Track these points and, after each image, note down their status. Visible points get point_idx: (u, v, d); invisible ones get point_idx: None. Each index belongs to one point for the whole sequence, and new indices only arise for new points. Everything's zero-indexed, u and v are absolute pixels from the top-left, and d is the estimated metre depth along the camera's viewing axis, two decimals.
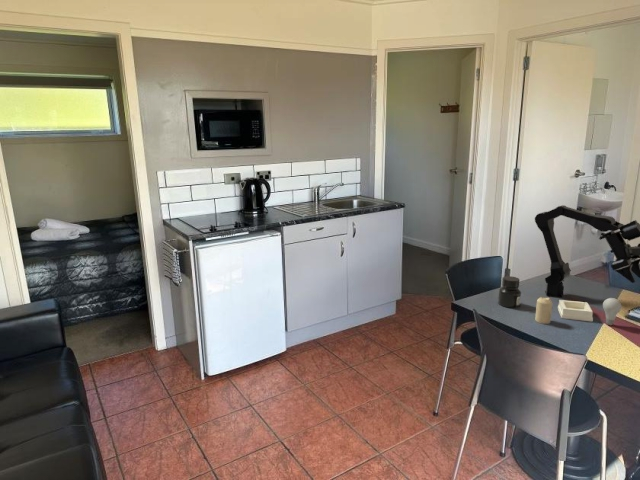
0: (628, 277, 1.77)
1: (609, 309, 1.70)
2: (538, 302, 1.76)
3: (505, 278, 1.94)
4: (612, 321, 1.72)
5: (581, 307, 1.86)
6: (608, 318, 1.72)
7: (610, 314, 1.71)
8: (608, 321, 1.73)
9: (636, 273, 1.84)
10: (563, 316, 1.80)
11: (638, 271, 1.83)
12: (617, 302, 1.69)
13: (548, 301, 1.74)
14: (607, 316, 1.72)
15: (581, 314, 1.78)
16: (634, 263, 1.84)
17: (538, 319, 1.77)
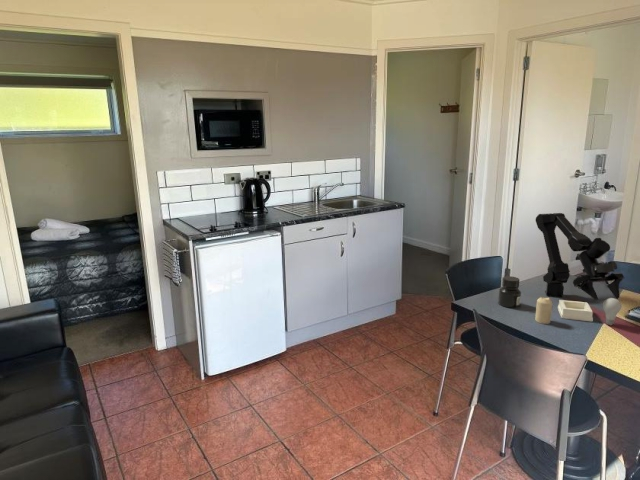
0: (591, 294, 1.75)
1: (609, 309, 1.70)
2: (538, 302, 1.76)
3: (505, 278, 1.94)
4: (612, 321, 1.72)
5: (581, 307, 1.86)
6: (608, 318, 1.72)
7: (610, 314, 1.71)
8: (608, 321, 1.73)
9: (614, 294, 1.76)
10: (563, 316, 1.80)
11: (615, 292, 1.76)
12: (617, 302, 1.69)
13: (548, 301, 1.74)
14: (607, 316, 1.72)
15: (581, 314, 1.78)
16: (612, 284, 1.77)
17: (538, 319, 1.77)
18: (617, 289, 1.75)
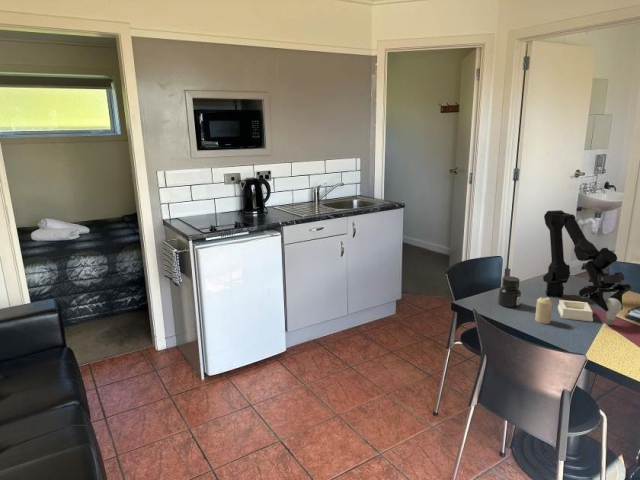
0: (601, 305, 1.72)
1: (610, 309, 1.70)
2: (538, 302, 1.76)
3: (505, 278, 1.94)
4: (612, 321, 1.72)
5: (581, 307, 1.86)
6: (608, 318, 1.72)
7: (610, 314, 1.71)
8: (608, 321, 1.73)
9: None
10: (563, 316, 1.80)
11: None
12: (617, 302, 1.69)
13: (548, 301, 1.74)
14: (607, 316, 1.72)
15: (581, 314, 1.78)
16: (615, 295, 1.74)
17: (538, 319, 1.77)
18: (620, 300, 1.72)
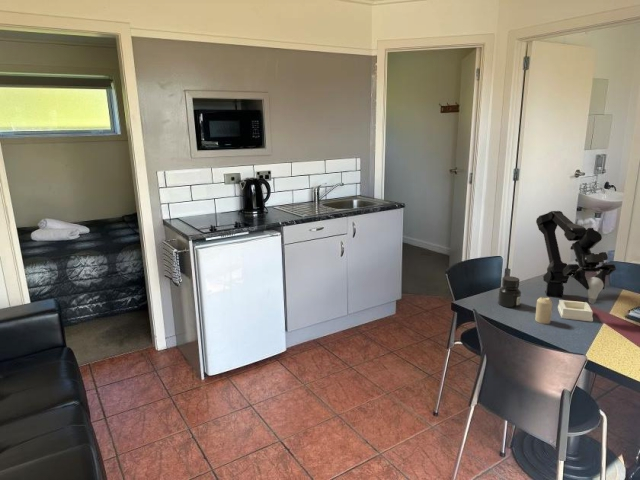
0: (583, 283, 1.76)
1: (590, 288, 1.74)
2: (538, 302, 1.76)
3: (505, 278, 1.94)
4: (594, 300, 1.76)
5: (581, 307, 1.86)
6: (590, 296, 1.76)
7: (591, 292, 1.75)
8: (590, 299, 1.77)
9: None
10: (563, 316, 1.80)
11: None
12: (598, 281, 1.73)
13: (548, 301, 1.74)
14: (589, 295, 1.76)
15: (581, 314, 1.78)
16: (599, 274, 1.77)
17: (538, 319, 1.77)
18: (603, 280, 1.75)
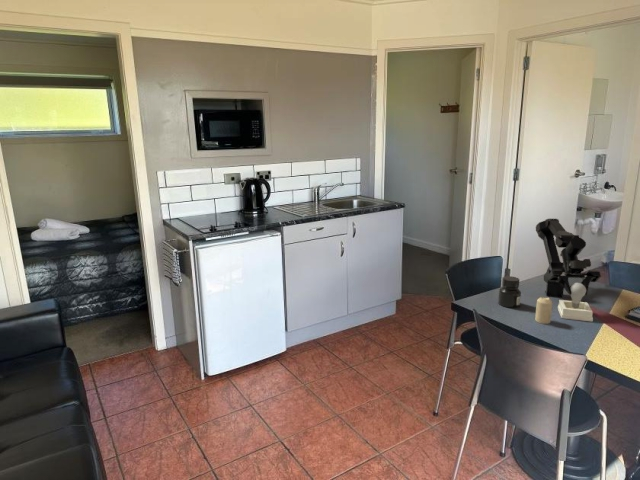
0: (566, 288, 1.83)
1: (572, 293, 1.80)
2: (538, 302, 1.76)
3: (505, 278, 1.94)
4: (576, 304, 1.82)
5: (581, 307, 1.86)
6: (573, 301, 1.82)
7: (574, 297, 1.81)
8: (573, 304, 1.83)
9: None
10: (563, 316, 1.80)
11: None
12: (580, 286, 1.79)
13: (548, 301, 1.74)
14: (572, 299, 1.82)
15: (581, 314, 1.78)
16: (584, 280, 1.83)
17: (538, 319, 1.77)
18: (586, 286, 1.81)
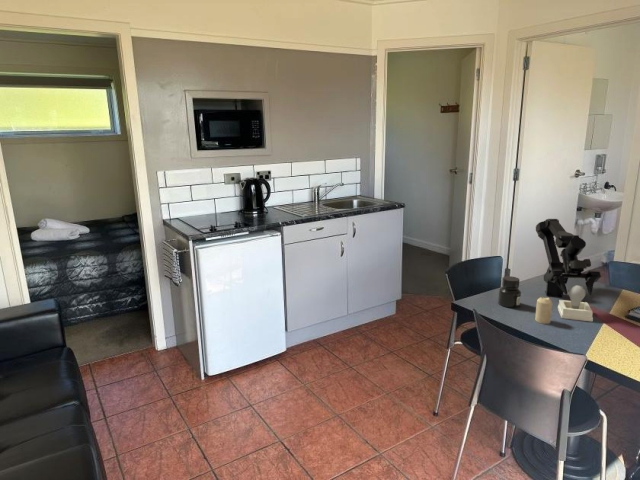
0: (562, 288, 1.83)
1: (572, 296, 1.80)
2: (538, 302, 1.76)
3: (505, 278, 1.94)
4: (576, 307, 1.82)
5: (581, 307, 1.86)
6: (572, 304, 1.82)
7: (573, 300, 1.81)
8: (572, 307, 1.83)
9: (588, 291, 1.81)
10: (563, 316, 1.80)
11: (589, 289, 1.81)
12: (579, 289, 1.79)
13: (548, 301, 1.74)
14: (571, 302, 1.82)
15: (581, 314, 1.78)
16: (588, 281, 1.82)
17: (538, 319, 1.77)
18: (591, 286, 1.80)
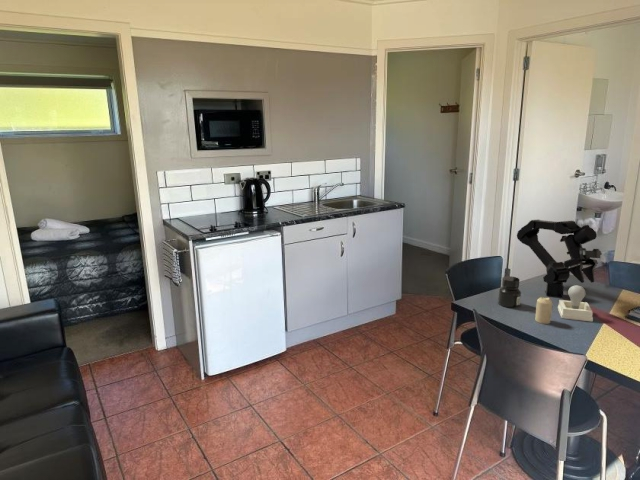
0: (578, 276, 1.86)
1: (572, 295, 1.80)
2: (538, 302, 1.76)
3: (505, 278, 1.94)
4: (576, 307, 1.82)
5: (581, 307, 1.86)
6: (572, 304, 1.82)
7: (573, 300, 1.81)
8: (572, 307, 1.83)
9: (589, 278, 1.92)
10: (563, 316, 1.80)
11: (591, 276, 1.91)
12: (579, 289, 1.79)
13: (548, 301, 1.74)
14: (571, 302, 1.82)
15: (581, 314, 1.78)
16: (589, 268, 1.92)
17: (538, 319, 1.77)
18: (593, 274, 1.91)
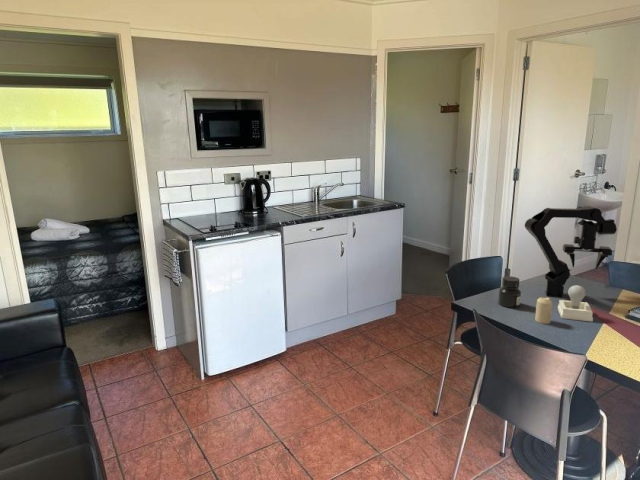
0: None
1: (572, 295, 1.80)
2: (538, 302, 1.76)
3: (505, 278, 1.94)
4: (576, 307, 1.82)
5: (581, 307, 1.86)
6: (572, 304, 1.82)
7: (573, 300, 1.81)
8: (572, 306, 1.83)
9: None
10: (563, 316, 1.80)
11: None
12: (579, 289, 1.79)
13: (548, 301, 1.74)
14: (571, 302, 1.83)
15: (581, 314, 1.78)
16: None
17: (538, 319, 1.77)
18: None
